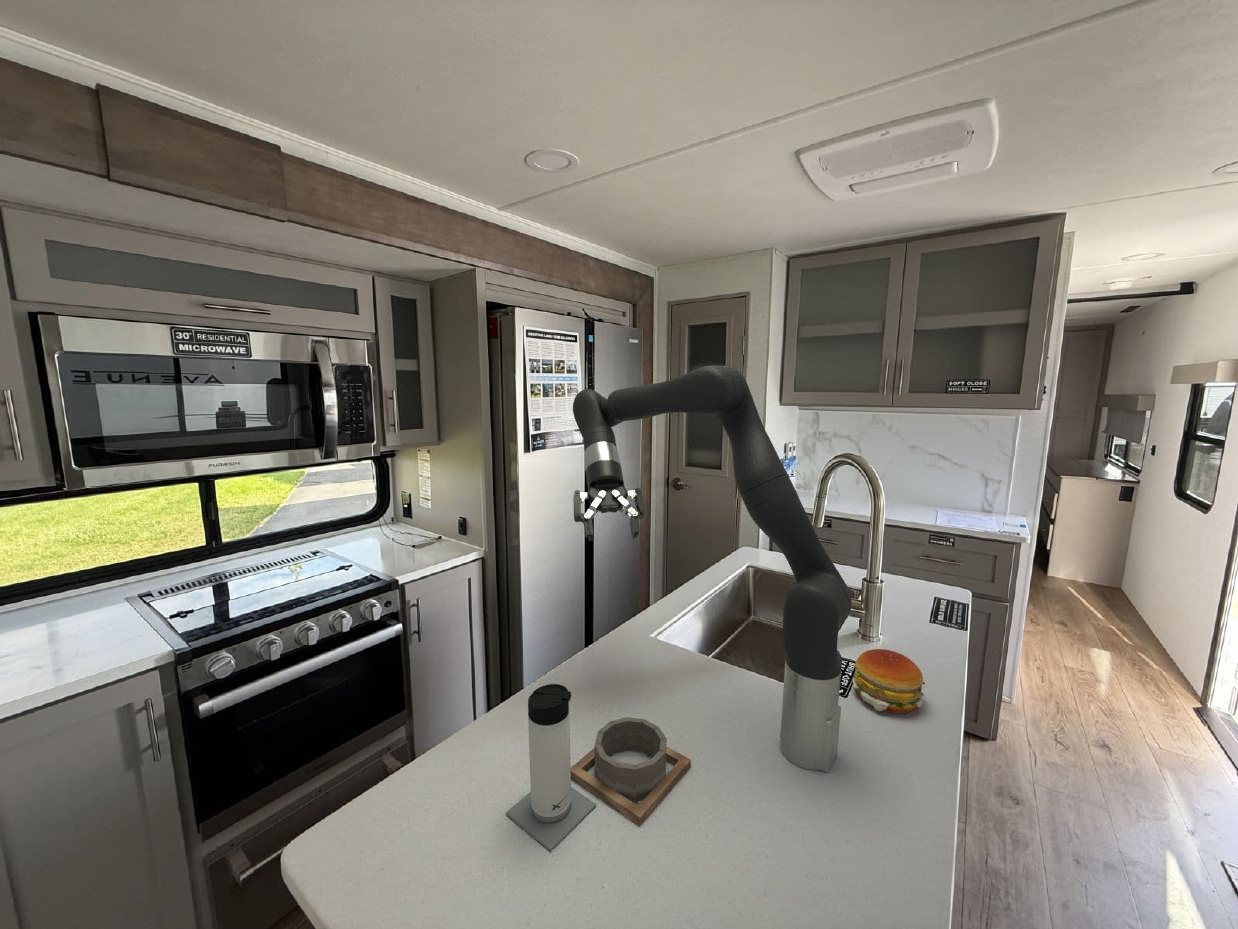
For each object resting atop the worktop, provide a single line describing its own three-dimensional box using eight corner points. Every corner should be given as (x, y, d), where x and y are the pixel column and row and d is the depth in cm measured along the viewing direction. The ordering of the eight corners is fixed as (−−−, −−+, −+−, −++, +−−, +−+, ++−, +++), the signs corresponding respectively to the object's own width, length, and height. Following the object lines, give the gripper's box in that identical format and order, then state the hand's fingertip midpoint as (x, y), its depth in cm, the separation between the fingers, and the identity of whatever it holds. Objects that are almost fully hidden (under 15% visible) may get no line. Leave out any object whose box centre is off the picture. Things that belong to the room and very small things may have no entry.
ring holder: (690, 767, 88) (691, 736, 87) (639, 826, 77) (640, 791, 76) (623, 729, 98) (623, 701, 96) (568, 777, 86) (568, 746, 85)
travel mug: (566, 827, 76) (563, 708, 72) (525, 820, 77) (520, 702, 74) (578, 794, 82) (576, 682, 78) (539, 787, 83) (536, 677, 80)
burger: (928, 697, 108) (934, 654, 106) (913, 730, 98) (918, 683, 96) (862, 672, 117) (865, 632, 115) (841, 700, 107) (845, 657, 105)
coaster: (596, 806, 80) (596, 804, 80) (550, 852, 73) (550, 849, 72) (552, 775, 86) (552, 773, 86) (505, 814, 79) (505, 812, 79)
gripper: (570, 459, 102) (578, 530, 93) (639, 457, 105) (653, 526, 96) (568, 479, 108) (575, 548, 99) (633, 477, 111) (645, 544, 102)
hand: (613, 537), depth 97 cm, fingers open, 8 cm apart
